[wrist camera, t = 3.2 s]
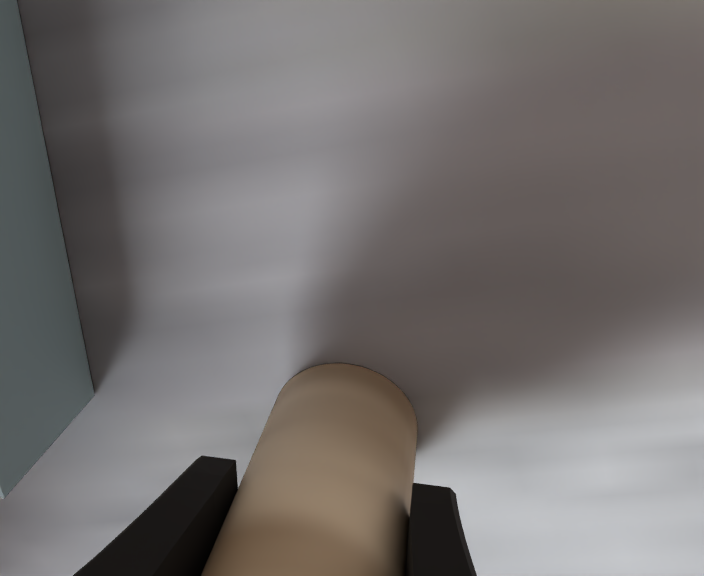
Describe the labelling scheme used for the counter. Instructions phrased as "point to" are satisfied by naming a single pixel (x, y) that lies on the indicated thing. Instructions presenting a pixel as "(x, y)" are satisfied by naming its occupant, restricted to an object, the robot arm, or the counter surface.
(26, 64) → the socket block
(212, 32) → the counter surface
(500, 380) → the counter surface
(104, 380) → the counter surface
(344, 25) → the counter surface
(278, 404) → the birch peg
